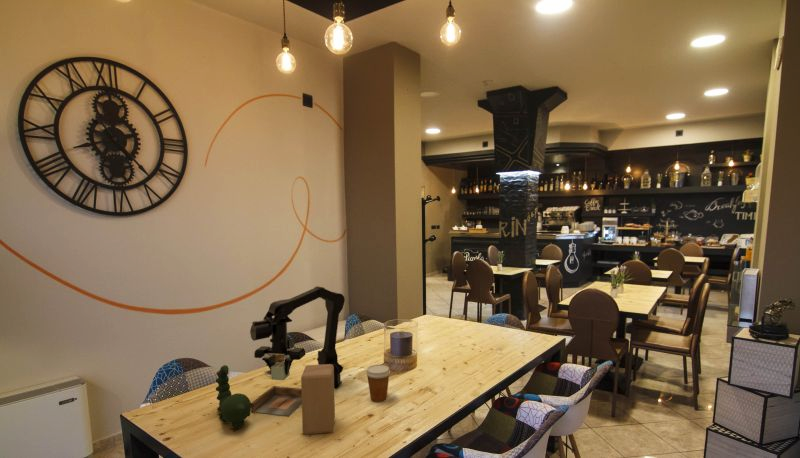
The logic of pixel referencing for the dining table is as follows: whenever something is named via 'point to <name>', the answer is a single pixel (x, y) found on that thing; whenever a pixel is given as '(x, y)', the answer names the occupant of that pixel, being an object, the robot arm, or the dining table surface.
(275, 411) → the arena
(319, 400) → the wooden block
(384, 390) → the disposable coffee cup
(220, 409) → the toy figurine
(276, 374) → the cube
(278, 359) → the condiment
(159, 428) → the dining table surface
